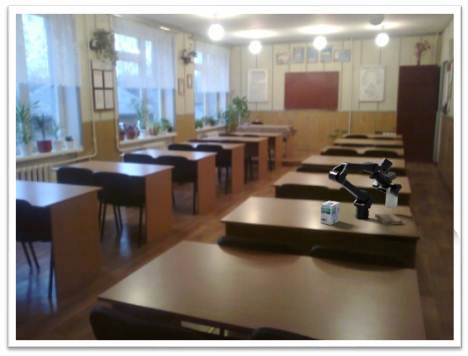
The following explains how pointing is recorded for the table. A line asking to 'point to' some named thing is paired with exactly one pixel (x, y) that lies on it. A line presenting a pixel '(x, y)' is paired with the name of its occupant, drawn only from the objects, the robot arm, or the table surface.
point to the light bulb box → (330, 212)
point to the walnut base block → (388, 219)
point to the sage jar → (391, 200)
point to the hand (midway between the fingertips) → (393, 195)
